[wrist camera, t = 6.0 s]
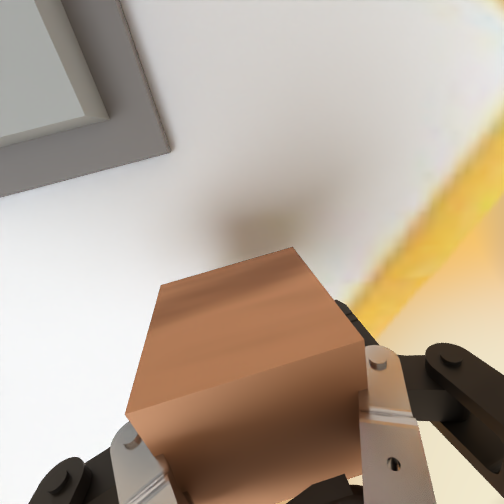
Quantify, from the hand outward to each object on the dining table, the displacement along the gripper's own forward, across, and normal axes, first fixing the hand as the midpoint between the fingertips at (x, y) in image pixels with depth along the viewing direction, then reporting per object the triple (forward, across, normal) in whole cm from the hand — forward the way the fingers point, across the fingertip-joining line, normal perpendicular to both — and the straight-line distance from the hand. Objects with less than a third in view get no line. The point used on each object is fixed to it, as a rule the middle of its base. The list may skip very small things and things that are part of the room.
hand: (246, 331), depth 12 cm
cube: (+1, 0, 0) cm, 1 cm away
